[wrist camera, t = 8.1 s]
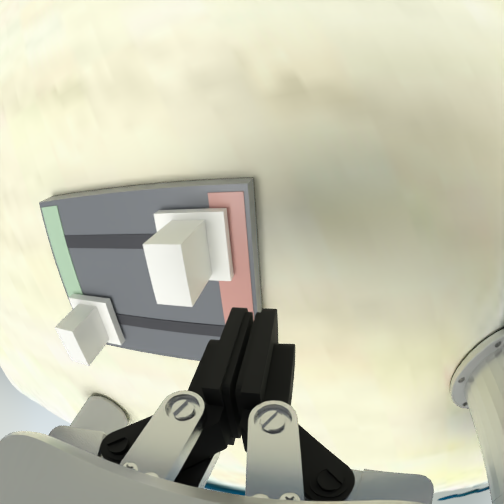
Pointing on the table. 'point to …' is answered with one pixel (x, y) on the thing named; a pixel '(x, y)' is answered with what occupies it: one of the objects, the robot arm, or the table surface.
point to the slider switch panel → (135, 266)
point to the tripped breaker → (188, 253)
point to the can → (100, 415)
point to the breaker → (89, 328)
